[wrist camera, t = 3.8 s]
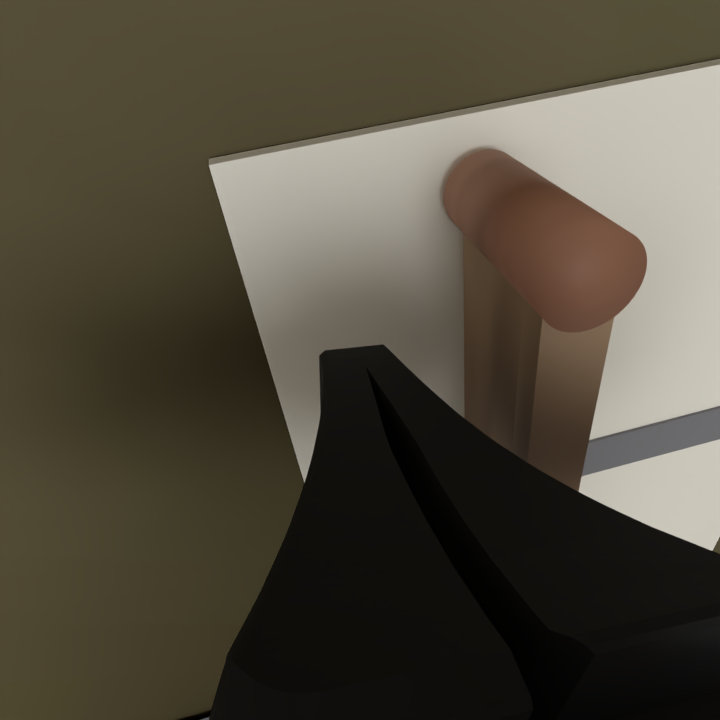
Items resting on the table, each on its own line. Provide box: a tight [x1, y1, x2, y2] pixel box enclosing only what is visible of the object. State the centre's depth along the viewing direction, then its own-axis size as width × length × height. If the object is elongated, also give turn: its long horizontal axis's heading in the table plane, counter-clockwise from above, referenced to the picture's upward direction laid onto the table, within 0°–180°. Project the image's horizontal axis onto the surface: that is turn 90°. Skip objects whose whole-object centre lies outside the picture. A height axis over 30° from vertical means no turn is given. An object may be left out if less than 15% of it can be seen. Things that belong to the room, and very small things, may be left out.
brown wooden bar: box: [444, 149, 647, 492], centre depth 11 cm, size 9×2×4 cm, turn 8°
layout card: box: [209, 59, 720, 551], centre depth 17 cm, size 22×16×1 cm
